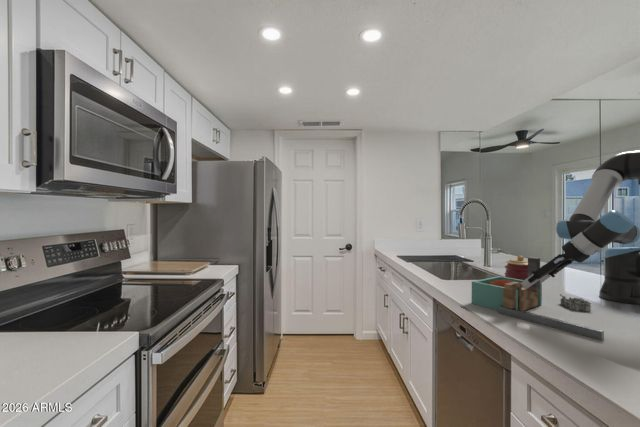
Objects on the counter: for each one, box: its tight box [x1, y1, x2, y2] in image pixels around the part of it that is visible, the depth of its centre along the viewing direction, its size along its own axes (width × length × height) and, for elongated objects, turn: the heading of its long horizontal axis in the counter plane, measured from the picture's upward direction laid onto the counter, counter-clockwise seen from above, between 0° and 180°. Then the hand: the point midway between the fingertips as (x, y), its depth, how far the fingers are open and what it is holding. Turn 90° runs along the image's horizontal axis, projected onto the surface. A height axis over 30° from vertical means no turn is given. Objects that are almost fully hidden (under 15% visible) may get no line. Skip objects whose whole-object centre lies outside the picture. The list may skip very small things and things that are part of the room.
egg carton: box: [559, 294, 592, 312], centre depth 124 cm, size 11×8×4 cm
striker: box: [503, 256, 541, 311], centre depth 118 cm, size 23×6×20 cm, turn 124°
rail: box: [497, 306, 605, 341], centre depth 104 cm, size 2×30×2 cm, turn 34°
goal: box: [471, 275, 543, 311], centre depth 127 cm, size 22×17×9 cm
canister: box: [504, 255, 528, 280], centre depth 146 cm, size 13×13×18 cm
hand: (528, 284), depth 120 cm, fingers open, 8 cm apart
